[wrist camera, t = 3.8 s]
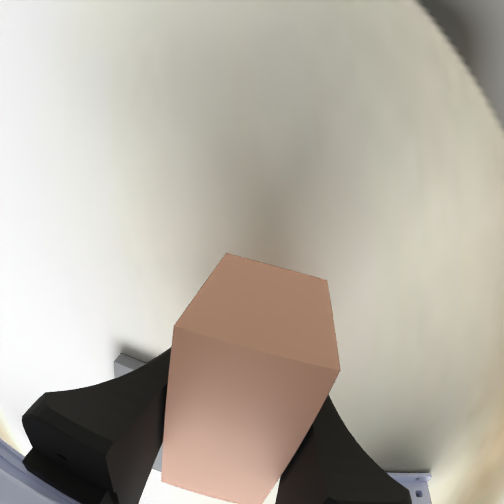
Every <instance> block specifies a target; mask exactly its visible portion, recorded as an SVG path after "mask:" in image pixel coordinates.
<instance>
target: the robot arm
mask: <svg viewBox="0 0 504 504" xmlns="http://www.w3.org/2000/svg"><path fill="white" fill-rule="evenodd" d="M170 356H171V348H169V349H168V350H167V351H165V352H164V353H162V354H161V355H159V356H158V357H156V358H154V359H153V360H151V361H149V362H148V363H146V364H144V365H142V366H141V367H139V368H137V369H135V370H133V371H131V372H129V373H127V374H124V375H122V376H120V377H117V378H115V379H112V380H109V381H106V382H103V383H100V384H97V385H93V386H89V387H84V388H79V389H74V390H67V391H57V392H45V393H44V394H43V395H42V396H41V397H40V398H39V399H38V400H37V401H36V402H35V403H34V404H33V405H32V406H31V407H30V408H29V409H28V410H27V412H26V413H25V414H24V415H23V416H22V423H23V427H24V429H25V432H26V434H27V436H28V438H29V440H30V443H31V445H32V447H33V448H32V449H31V450H30V452H29V453H28V454H27V455H26V457H25V456H23V455H22V454H20V453H19V452H18V451H16V450H15V449H14V448H12V447H11V446H10V445H8V444H7V443H6V442H4V441H3V440H2V439H1V438H0V504H138V503H139V500H140V497H141V495H142V492H143V490H144V487H145V484H146V482H147V479H148V477H149V474H150V472H151V469H152V467H153V464H154V462H155V459H156V457H157V455H158V452H159V450H160V448H161V445H162V443H163V437H164V422H165V409H166V397H167V386H168V376H169V366H170ZM431 477H432V475H431V473H386V472H385V471H384V470H383V469H381V468H380V467H379V466H378V465H377V464H376V463H375V462H374V461H373V460H372V459H371V458H370V457H369V456H368V454H367V453H366V452H365V451H364V450H363V449H362V448H361V447H360V445H359V444H358V443H357V442H356V440H355V439H354V437H353V436H352V435H351V433H350V432H349V431H348V429H347V428H346V426H345V424H344V423H343V421H342V419H341V418H340V416H339V414H338V412H337V411H336V409H335V407H334V405H333V403H332V401H331V399H330V397H329V395H327V397H326V399H325V401H324V403H323V405H322V407H321V409H320V410H319V412H318V414H317V416H316V418H315V420H314V421H313V423H312V425H311V427H310V428H309V430H308V432H307V434H306V435H305V437H304V439H303V441H302V442H301V444H300V446H299V447H298V449H297V451H296V452H295V454H294V456H293V457H292V459H291V460H290V462H289V464H288V465H287V467H286V468H285V470H284V472H283V473H282V475H281V477H280V482H279V488H278V493H277V498H276V503H275V504H432V503H431V498H430V493H429V489H428V484H427V481H429V480H430V479H431Z"/></svg>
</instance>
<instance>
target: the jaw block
mask: <svg viewBox="0 0 504 504" xmlns="http://www.w3.org/2000/svg"><path fill="white" fill-rule="evenodd" d="M339 372H340V364H339V356H338V349H337V341H336V334H335V327H334V321H333V314H332V307H331V301H330V295H329V289H328V283H327V280H324V279H321V278H317V277H313V276H309V275H306V274H302V273H298V272H294V271H291V270H287V269H283V268H279V267H276V266H272V265H268V264H265V263H261V262H257V261H253V260H250V259H246V258H242V257H239V256H235V255H231V254H228V253H226V254H225V255H224V257H223V258H222V260H221V261H220V262H219V264H218V265H217V266H216V268H215V269H214V271H213V272H212V273H211V275H210V276H209V278H208V279H207V280H206V282H205V283H204V285H203V286H202V287H201V289H200V290H199V291H198V293H197V294H196V296H195V297H194V298H193V300H192V301H191V303H190V304H189V305H188V307H187V308H186V310H185V311H184V313H183V314H182V315H181V317H180V318H179V320H178V321H177V322H176V324H175V325H174V330H173V339H172V347H171V356H170V366H169V376H168V386H167V397H166V409H165V422H164V437H163V453H162V474H161V481H162V482H165V483H168V484H170V485H173V486H176V487H179V488H182V489H186V490H189V491H192V492H195V493H199V494H202V495H206V496H209V497H213V498H217V499H220V500H224V501H228V502H233V503H237V504H262V503H263V502H264V500H265V499H266V497H267V496H268V494H269V493H270V491H271V490H272V488H273V487H274V485H275V484H276V482H277V481H278V479H279V478H280V476H281V475H282V473H283V472H284V470H285V468H286V467H287V465H288V464H289V462H290V460H291V459H292V457H293V456H294V454H295V452H296V451H297V449H298V447H299V446H300V444H301V442H302V441H303V439H304V437H305V435H306V434H307V432H308V430H309V428H310V427H311V425H312V423H313V421H314V420H315V418H316V416H317V414H318V412H319V410H320V409H321V407H322V405H323V403H324V401H325V399H326V397H327V395H328V394H329V392H330V390H331V388H332V386H333V384H334V382H335V380H336V378H337V376H338V374H339Z"/></svg>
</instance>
